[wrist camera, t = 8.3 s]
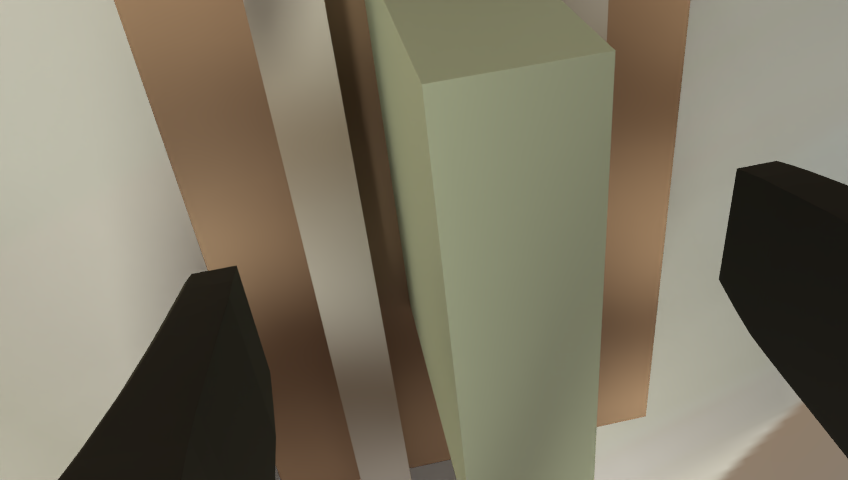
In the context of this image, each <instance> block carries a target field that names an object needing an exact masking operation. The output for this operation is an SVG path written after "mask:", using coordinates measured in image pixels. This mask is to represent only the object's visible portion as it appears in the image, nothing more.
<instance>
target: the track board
mask: <svg viewBox="0 0 848 480" xmlns="http://www.w3.org/2000/svg"><path fill="white" fill-rule="evenodd" d="M562 1H563V2H564V3H565V4H566V5H567V6H568V7H569V8H570V9H572V10H573V11H574V12H575V13H576V14H577V15H578V16H579V17H580V18H581V19H582V20H583V21H584V22H586V23H587V24H588V25H589V26H590V27H591V28H592V29H593V30H594V31H595V32H596V33H597V34H598V35H599V36H601V37H602V38H603V39H604V40H605V41H606V42H607V43H608V44H609V45H610V46H611V47H612V48H613V49H614V50H616V51H615V70H614V90H613V110H612V130H611V150H610V170H609V189H608V209H607V229H606V249H605V269H604V289H603V309H602V328H601V348H600V368H599V388H598V408H597V427H599V426H603V425H608V424H612V423H617V422H621V421H626V420H631V419H635V418H640V417H644V416H646V408H647V398H648V389H649V380H650V371H651V361H652V352H653V343H654V333H655V324H656V315H657V305H658V296H659V287H660V278H661V268H662V259H663V250H664V240H665V231H666V222H667V212H668V203H669V194H670V185H671V175H672V166H673V157H674V147H675V138H676V129H677V119H678V110H679V101H680V92H681V82H682V73H683V64H684V54H685V45H686V36H687V26H688V17H689V8H690V0H562ZM114 2H115V5H116V8H117V10H118V13H119V16H120V19H121V22H122V25H123V28H124V31H125V33H126V36H127V39H128V42H129V45H130V48H131V51H132V54H133V56H134V59H135V62H136V65H137V68H138V71H139V74H140V77H141V79H142V82H143V85H144V88H145V91H146V94H147V97H148V100H149V102H150V105H151V108H152V111H153V114H154V117H155V120H156V123H157V125H158V128H159V131H160V134H161V137H162V140H163V143H164V145H165V148H166V151H167V154H168V157H169V160H170V163H171V166H172V168H173V171H174V174H175V177H176V180H177V183H178V186H179V189H180V191H181V194H182V197H183V200H184V203H185V206H186V209H187V212H188V214H189V217H190V220H191V223H192V226H193V229H194V232H195V235H196V237H197V240H198V243H199V246H200V249H201V252H202V255H203V258H204V260H205V263H206V266H207V269H208V271H210V270H216V269H221V268H226V267H231V266H236V265H237V268H238V272H239V275H240V278H241V281H242V284H243V287H244V291H245V294H246V297H247V300H248V303H249V306H250V310H251V313H252V316H253V319H254V322H255V325H256V328H257V332H258V335H259V338H260V341H261V344H262V347H263V351H264V354H265V357H266V360H267V363H268V366H269V370H270V374H271V384H272V395H273V405H274V417H275V430H276V460H275V464H276V467H277V470H278V473H279V476H280V479H281V480H359V479H361V480H411V475H410V470H409V468H414V467H418V466H423V465H427V464H432V463H436V462H441V461H445V460H450V459H451V457H450V453H449V450H448V446H447V442H446V438H445V434H444V431H443V427H442V423H441V419H440V416H439V412H438V408H437V404H436V400H435V397H434V393H433V389H432V385H431V382H430V378H429V374H428V370H427V367H426V363H425V359H424V355H423V351H422V348H421V344H420V340H419V336H418V333H417V329H416V325H415V321H414V317H413V314H412V310H411V306H410V299H409V293H408V286H407V279H406V273H405V266H404V259H403V253H402V246H401V239H400V233H399V226H398V219H397V213H396V206H395V199H394V193H393V186H392V179H391V173H390V166H389V159H388V153H387V146H386V139H385V133H384V126H383V119H382V113H381V106H380V99H379V93H378V86H377V79H376V72H375V66H374V59H373V52H372V46H371V39H370V32H369V26H368V19H367V12H366V6H365V0H114Z"/></svg>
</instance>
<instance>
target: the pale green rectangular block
mask: <svg viewBox="0 0 848 480" xmlns="http://www.w3.org/2000/svg"><path fill="white" fill-rule="evenodd" d="M365 6H366V12H367V19H368V26H369V32H370V39H371V46H372V52H373V59H374V66H375V72H376V79H377V86H378V93H379V99H380V106H381V113H382V119H383V126H384V133H385V139H386V146H387V153H388V159H389V166H390V173H391V179H392V186H393V193H394V199H395V206H396V213H397V219H398V226H399V233H400V239H401V246H402V253H403V259H404V266H405V273H406V279H407V286H408V293H409V299H410V306H411V310H412V314H413V317H414V321H415V325H416V329H417V333H418V336H419V340H420V344H421V348H422V351H423V355H424V359H425V363H426V367H427V370H428V374H429V378H430V382H431V385H432V389H433V393H434V397H435V400H436V404H437V408H438V412H439V416H440V419H441V423H442V427H443V431H444V434H445V438H446V442H447V446H448V450H449V453H450V457H451V461H452V465H453V468H454V472H455V476H456V480H594V467H595V447H596V428H597V408H598V388H599V368H600V348H601V328H602V309H603V289H604V269H605V249H606V229H607V209H608V189H609V170H610V150H611V130H612V110H613V90H614V70H615V51H616V50H614V49H613V48H612V47H611V46H610V45H609V44H608V43H607V42H606V41H605V40H604V39H603V38H602V37H601V36H599V35H598V34H597V33H596V32H595V31H594V30H593V29H592V28H591V27H590V26H589V25H588V24H587V23H586V22H584V21H583V20H582V19H581V18H580V17H579V16H578V15H577V14H576V13H575V12H574V11H573V10H572V9H570V8H569V7H568V6H567V5H566V4H565V3H564V2H563V1H562V0H365Z"/></svg>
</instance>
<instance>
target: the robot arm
mask: <svg viewBox="0 0 848 480" xmlns="http://www.w3.org/2000/svg"><path fill="white" fill-rule="evenodd" d="M719 280H720V282H721V284H722V286H723V288H724V290H725V291H726V293H727V295H728V297H729V299H730V301H731V302H732V304H733V306H734V308H735V310H736V311H737V313H738V315H739V316H740V318H741V320H742V321H743V323H744V325H745V326H746V328H747V329H748V331H749V333H750V334H751V336H752V337H753V339H754V340H755V341H756V343H757V344H758V345H759V347H760V348H761V349H762V350H763V352H764V353H765V354H766V356H767V357H768V358H769V359H770V361H771V362H772V363H773V365H774V366H775V367H776V368H777V370H778V371H779V372H780V374H781V375H782V376H783V377H784V379H785V380H786V381H787V382H788V384H789V385H790V386H791V387H792V389H793V390H794V391H795V393H796V394H797V395H798V396H799V398H800V399H801V400H802V401H803V403H804V404H805V405H806V406H807V408H808V409H809V410H810V411H811V413H812V414H813V415H814V416H815V418H816V419H817V420H818V421H819V423H820V424H821V425H822V426H823V428H824V429H825V430H826V431H827V433H828V434H829V435H830V436H831V438H832V439H833V440H834V442H835V443H836V444H837V445H838V447H839V448H840V449H841V450H842V452H843V453H844V454H845V455H846V457H847V458H848V186H847V185H845V184H842V183H840V182H837V181H835V180H832V179H829V178H827V177H824V176H821V175H818V174H816V173H813V172H810V171H807V170H805V169H802V168H799V167H796V166H792V165H789V164H786V163H782V162H779V161H774V162H769V163H764V164H758V165H753V166H748V167H743V168H738V169H737V172H736V178H735V184H734V190H733V196H732V202H731V208H730V215H729V221H728V227H727V233H726V239H725V245H724V251H723V258H722V264H721V270H720V276H719ZM275 460H276V430H275V417H274V405H273V395H272V384H271V374H270V370H269V366H268V363H267V360H266V357H265V354H264V351H263V347H262V344H261V341H260V338H259V335H258V332H257V328H256V325H255V322H254V319H253V316H252V313H251V310H250V306H249V303H248V300H247V297H246V294H245V291H244V287H243V284H242V281H241V278H240V275H239V272H238V268H237V265H236V266H231V267H226V268H221V269H216V270H210V271H205V272H200V273H195V274H191V276H190V277H189V278H188V280H187V281H186V282H185V284H184V286H183V288H182V289H181V291H180V293H179V295H178V297H177V298H176V300H175V302H174V304H173V306H172V307H171V309H170V311H169V313H168V315H167V316H166V318H165V320H164V322H163V323H162V325H161V327H160V329H159V330H158V332H157V334H156V335H155V337H154V339H153V341H152V342H151V344H150V346H149V347H148V349H147V351H146V352H145V354H144V356H143V357H142V359H141V360H140V362H139V364H138V365H137V367H136V368H135V370H134V372H133V373H132V375H131V376H130V378H129V380H128V381H127V383H126V385H125V386H124V388H123V389H122V391H121V392H120V394H119V395H118V397H117V398H116V400H115V401H114V403H113V404H112V406H111V407H110V409H109V410H108V412H107V413H106V414H105V416H104V417H103V419H102V420H101V422H100V423H99V424H98V426H97V427H96V429H95V430H94V432H93V433H92V434H91V436H90V437H89V439H88V440H87V442H86V443H85V445H84V446H83V447H82V449H81V450H80V451H79V453H78V454H77V456H76V457H75V458H74V459H73V461H72V462H71V463H70V465H69V466H68V467H67V469H66V470H65V471H64V473H63V474H62V475H61V476H60V478H59V479H58V480H275Z"/></svg>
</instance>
